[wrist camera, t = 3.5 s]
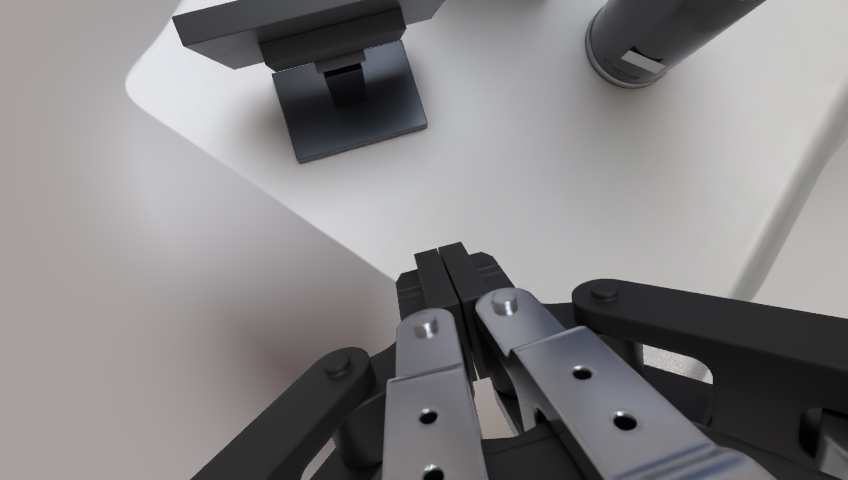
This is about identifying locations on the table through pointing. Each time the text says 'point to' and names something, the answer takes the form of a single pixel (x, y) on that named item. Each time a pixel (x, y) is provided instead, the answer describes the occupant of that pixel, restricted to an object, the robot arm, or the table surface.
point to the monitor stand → (350, 103)
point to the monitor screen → (298, 30)
